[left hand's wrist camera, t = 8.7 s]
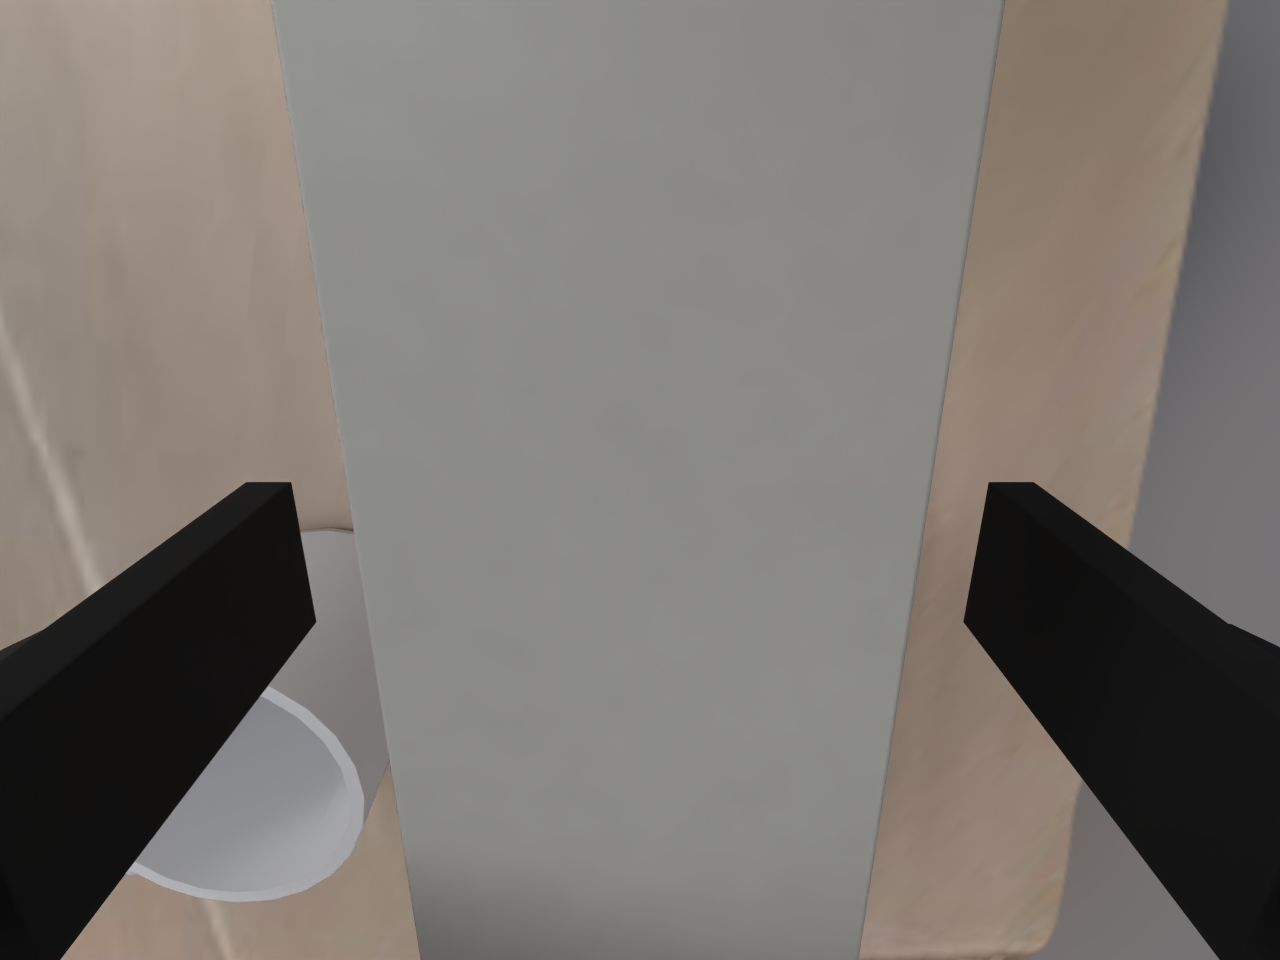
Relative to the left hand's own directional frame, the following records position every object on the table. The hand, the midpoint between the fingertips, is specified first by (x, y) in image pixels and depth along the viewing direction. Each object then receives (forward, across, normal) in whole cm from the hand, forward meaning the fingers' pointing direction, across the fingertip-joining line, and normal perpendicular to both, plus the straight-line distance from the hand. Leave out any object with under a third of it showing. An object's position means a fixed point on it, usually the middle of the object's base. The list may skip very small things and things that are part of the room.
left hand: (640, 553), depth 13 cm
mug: (+16, +13, +11) cm, 24 cm away
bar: (+2, 0, -10) cm, 10 cm away
